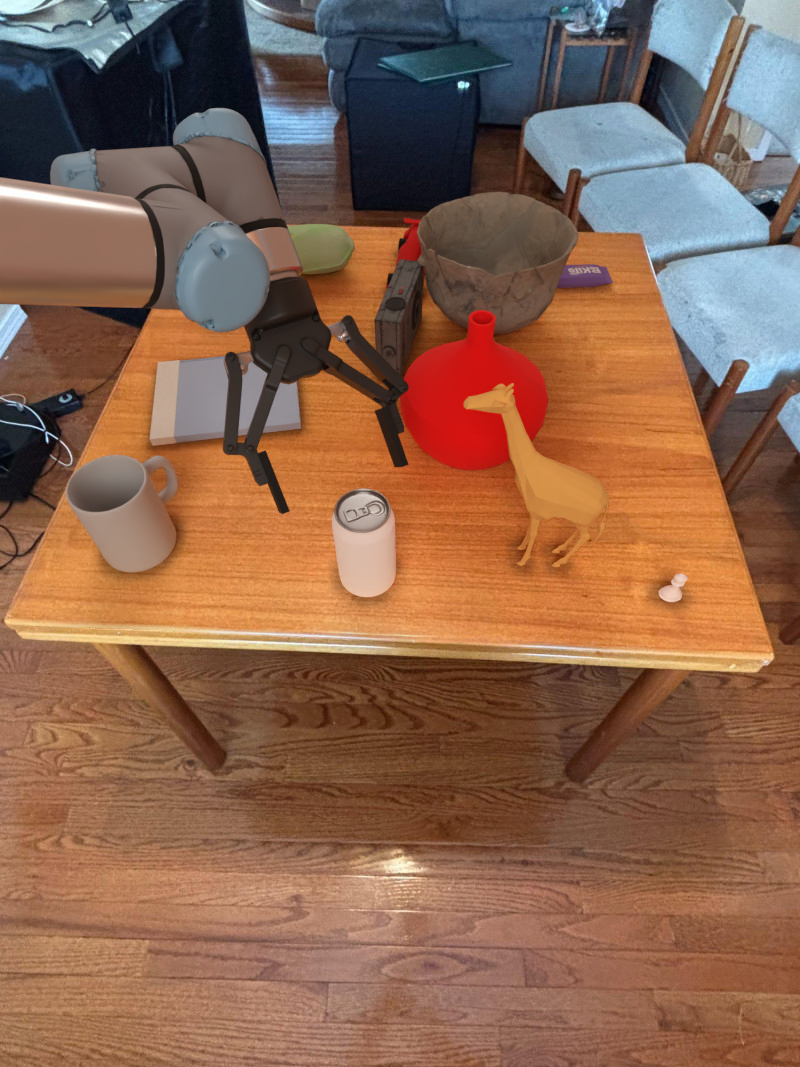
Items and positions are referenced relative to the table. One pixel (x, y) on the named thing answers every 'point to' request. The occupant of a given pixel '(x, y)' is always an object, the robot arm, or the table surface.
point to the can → (365, 542)
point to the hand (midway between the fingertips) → (344, 488)
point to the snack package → (584, 276)
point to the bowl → (495, 257)
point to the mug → (125, 509)
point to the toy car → (409, 245)
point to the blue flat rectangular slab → (212, 401)
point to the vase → (452, 379)
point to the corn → (321, 247)
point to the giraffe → (545, 479)
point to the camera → (400, 314)
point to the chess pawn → (673, 589)
